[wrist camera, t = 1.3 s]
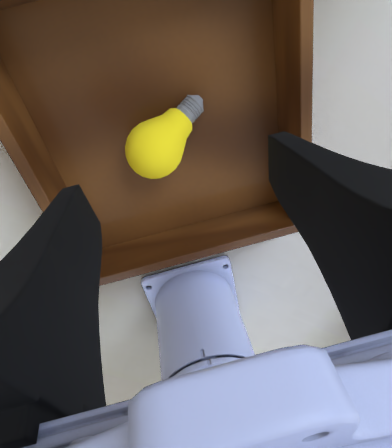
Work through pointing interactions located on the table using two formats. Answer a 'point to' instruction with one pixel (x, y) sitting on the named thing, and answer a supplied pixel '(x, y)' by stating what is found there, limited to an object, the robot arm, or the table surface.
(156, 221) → the tray
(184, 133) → the light bulb
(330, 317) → the table surface
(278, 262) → the table surface
